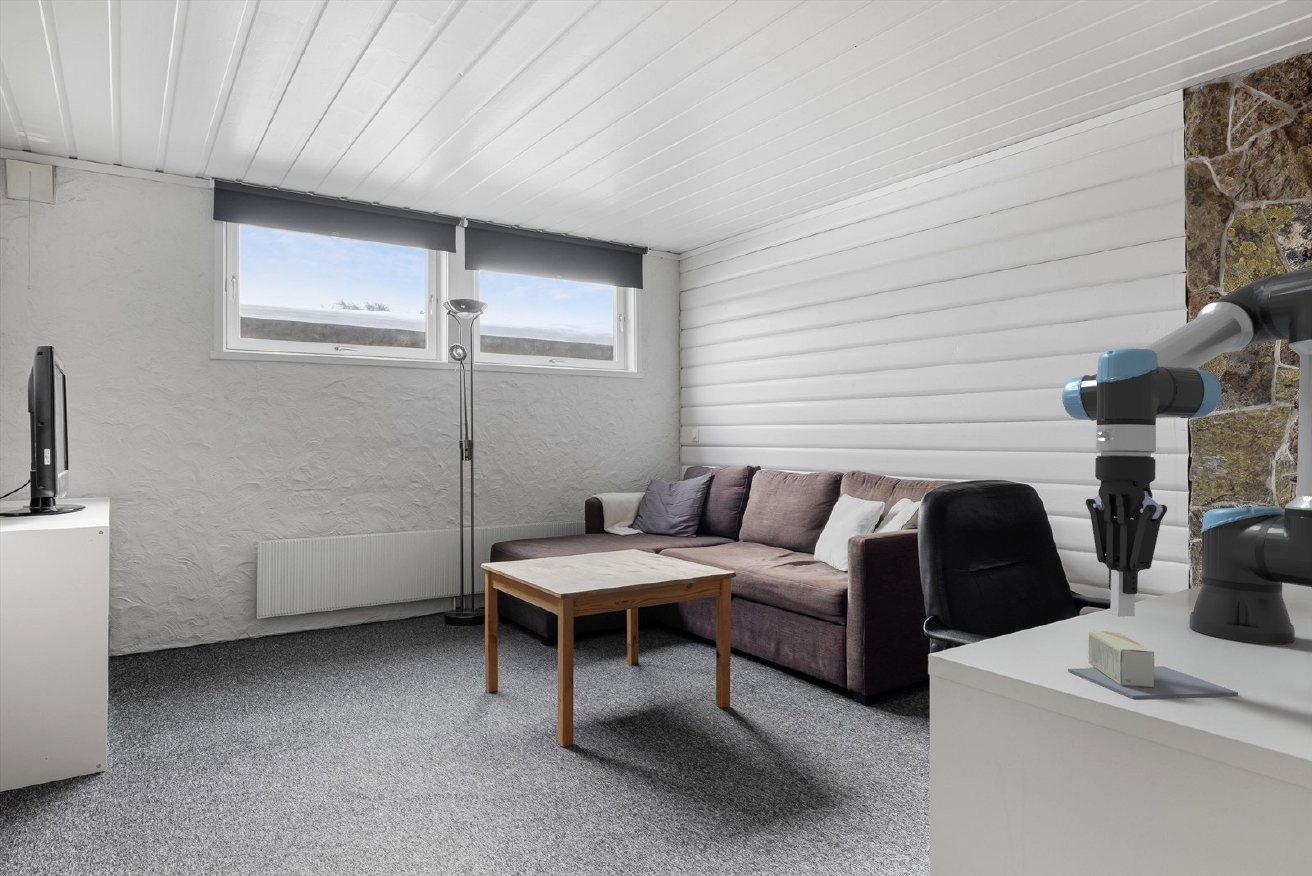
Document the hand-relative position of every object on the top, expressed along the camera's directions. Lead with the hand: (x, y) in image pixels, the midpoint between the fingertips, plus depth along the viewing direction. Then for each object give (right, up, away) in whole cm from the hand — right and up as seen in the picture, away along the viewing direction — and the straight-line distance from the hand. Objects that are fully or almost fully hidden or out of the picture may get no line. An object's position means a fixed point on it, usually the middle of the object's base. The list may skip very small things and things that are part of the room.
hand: (1122, 614), depth 110 cm
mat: (+1, -8, -5) cm, 10 cm away
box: (-1, -5, +2) cm, 6 cm away
